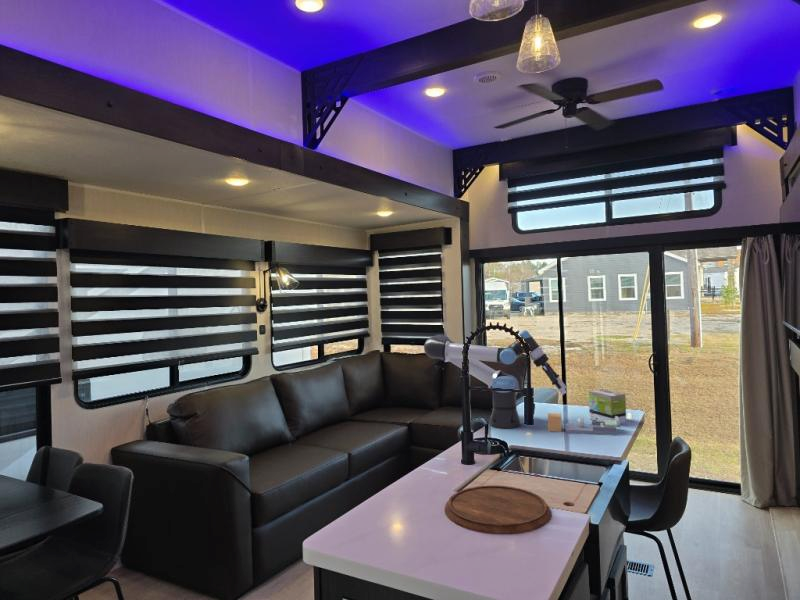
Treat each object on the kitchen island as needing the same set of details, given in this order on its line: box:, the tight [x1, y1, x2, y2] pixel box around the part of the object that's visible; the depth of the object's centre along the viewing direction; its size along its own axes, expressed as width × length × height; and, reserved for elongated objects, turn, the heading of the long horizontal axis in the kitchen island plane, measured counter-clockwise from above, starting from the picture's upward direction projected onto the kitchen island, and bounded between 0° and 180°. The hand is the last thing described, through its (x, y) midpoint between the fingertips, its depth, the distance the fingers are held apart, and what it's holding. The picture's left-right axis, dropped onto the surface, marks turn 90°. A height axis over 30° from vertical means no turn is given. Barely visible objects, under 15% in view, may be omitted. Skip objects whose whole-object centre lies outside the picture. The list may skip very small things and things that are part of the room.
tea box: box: [588, 388, 627, 425], centre depth 261 cm, size 15×10×15 cm, turn 25°
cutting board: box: [444, 485, 552, 535], centre depth 159 cm, size 32×32×2 cm
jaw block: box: [547, 413, 562, 432], centre depth 249 cm, size 6×6×7 cm
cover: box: [604, 416, 621, 428], centre depth 242 cm, size 6×9×3 cm
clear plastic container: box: [565, 417, 618, 436], centre depth 245 cm, size 22×12×6 cm, turn 72°
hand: (564, 391), depth 265 cm, fingers open, 13 cm apart
